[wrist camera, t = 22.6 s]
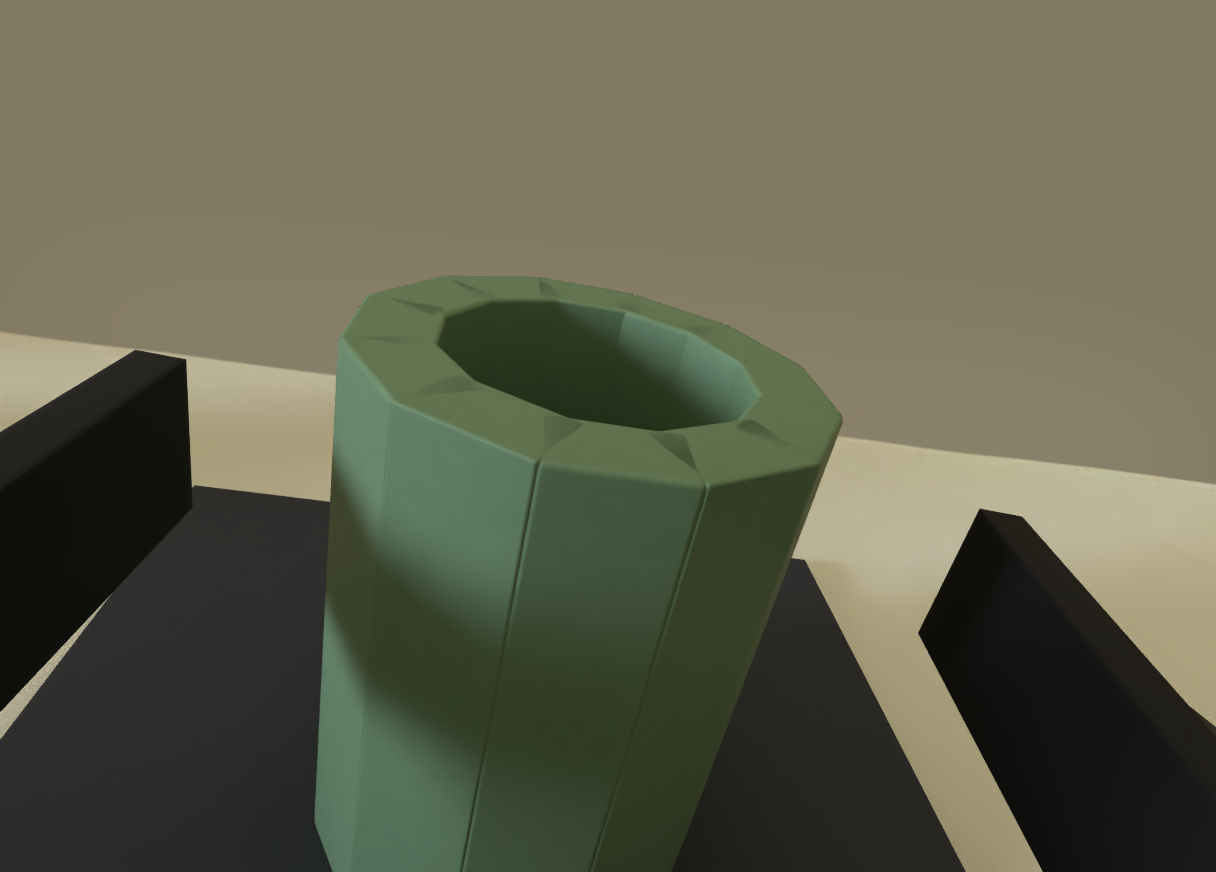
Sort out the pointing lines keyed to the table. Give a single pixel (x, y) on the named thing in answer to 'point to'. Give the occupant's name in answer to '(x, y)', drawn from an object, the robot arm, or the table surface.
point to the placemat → (290, 709)
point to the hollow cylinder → (546, 570)
